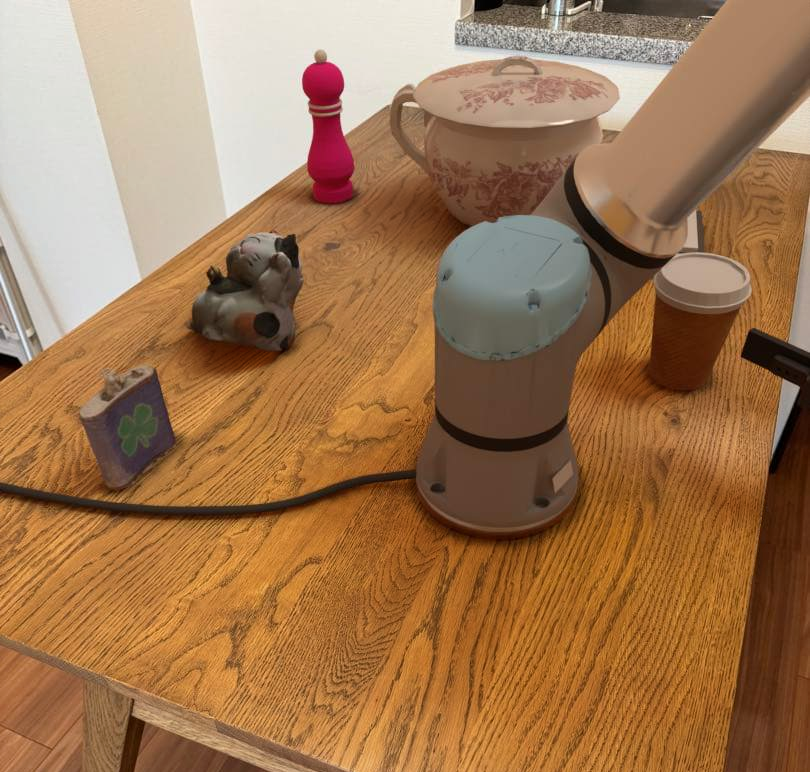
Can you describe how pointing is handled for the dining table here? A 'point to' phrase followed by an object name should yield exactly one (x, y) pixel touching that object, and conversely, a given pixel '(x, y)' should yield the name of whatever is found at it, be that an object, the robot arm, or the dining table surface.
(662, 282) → the disposable coffee cup
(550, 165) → the chamber pot
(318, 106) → the pepper mill
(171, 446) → the flask
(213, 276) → the lucky cat figurine
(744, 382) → the dining table surface
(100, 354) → the dining table surface
